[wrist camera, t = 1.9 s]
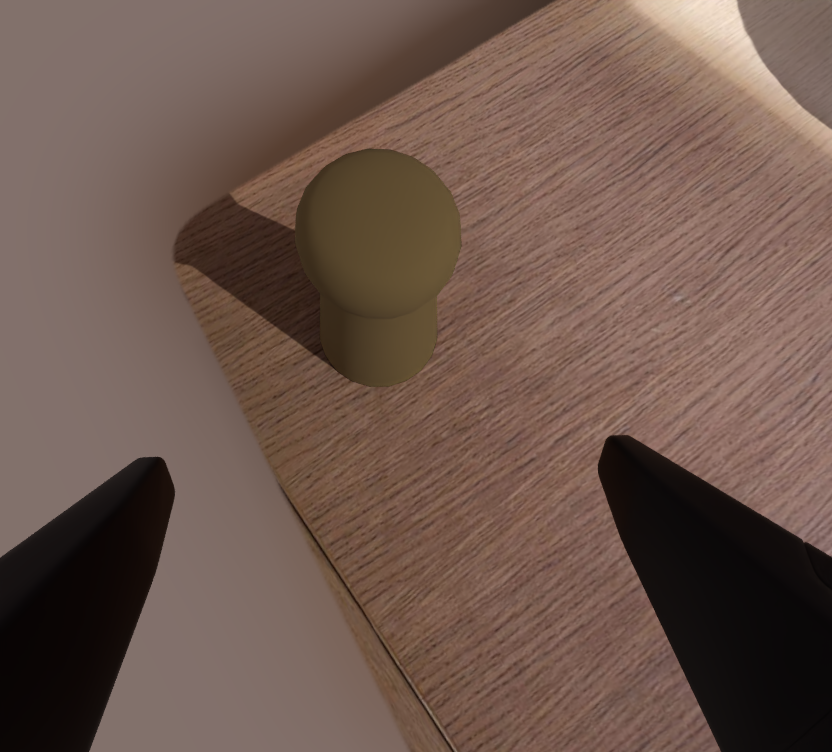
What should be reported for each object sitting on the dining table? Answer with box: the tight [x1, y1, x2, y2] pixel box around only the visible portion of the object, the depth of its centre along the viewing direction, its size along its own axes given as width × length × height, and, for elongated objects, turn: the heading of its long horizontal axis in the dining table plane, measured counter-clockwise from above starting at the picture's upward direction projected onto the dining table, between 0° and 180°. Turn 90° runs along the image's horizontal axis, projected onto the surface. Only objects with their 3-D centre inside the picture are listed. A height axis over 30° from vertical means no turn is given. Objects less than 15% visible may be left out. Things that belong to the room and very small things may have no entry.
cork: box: [295, 149, 461, 387], centre depth 18 cm, size 6×6×11 cm
